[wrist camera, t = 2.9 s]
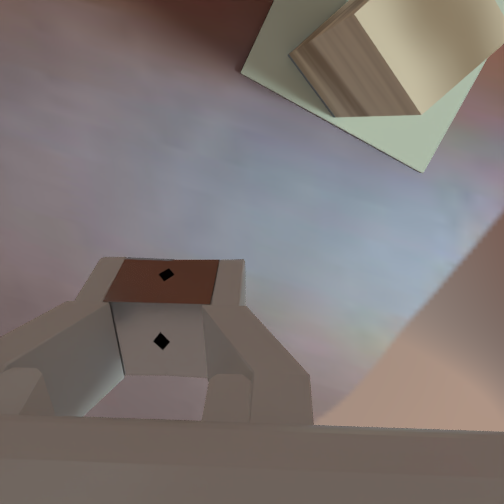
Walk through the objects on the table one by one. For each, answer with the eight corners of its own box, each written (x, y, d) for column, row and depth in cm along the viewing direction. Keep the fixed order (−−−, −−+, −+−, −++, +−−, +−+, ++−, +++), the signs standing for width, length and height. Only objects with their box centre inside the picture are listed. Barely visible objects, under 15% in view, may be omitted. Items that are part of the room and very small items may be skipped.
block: (333, 117, 34) (421, 115, 22) (287, 55, 33) (353, 14, 20) (391, 66, 34) (514, 34, 21) (347, 0, 32) (453, -75, 20)
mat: (240, 73, 33) (240, 72, 32) (349, -162, 30) (351, -166, 30) (420, 172, 37) (423, 173, 36) (531, -27, 34) (535, -29, 34)
